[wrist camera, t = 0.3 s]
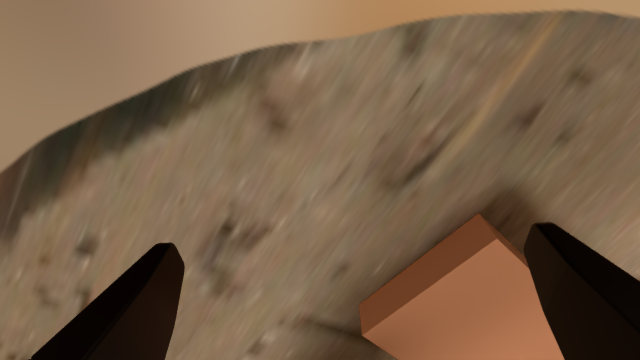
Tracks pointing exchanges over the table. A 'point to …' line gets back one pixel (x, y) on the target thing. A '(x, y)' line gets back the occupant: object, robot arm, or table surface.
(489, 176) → the table surface
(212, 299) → the table surface
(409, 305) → the block
